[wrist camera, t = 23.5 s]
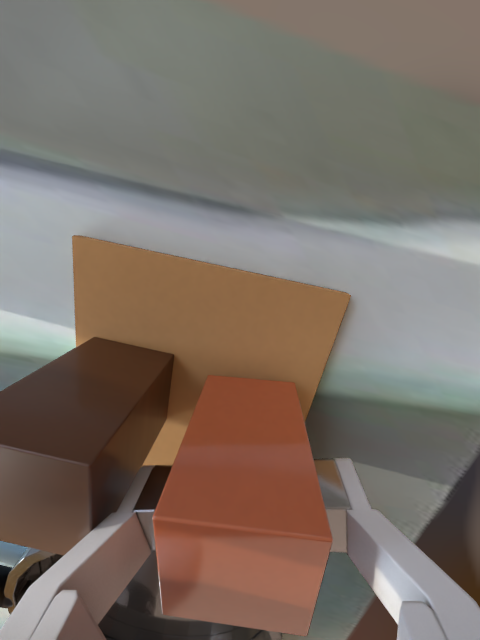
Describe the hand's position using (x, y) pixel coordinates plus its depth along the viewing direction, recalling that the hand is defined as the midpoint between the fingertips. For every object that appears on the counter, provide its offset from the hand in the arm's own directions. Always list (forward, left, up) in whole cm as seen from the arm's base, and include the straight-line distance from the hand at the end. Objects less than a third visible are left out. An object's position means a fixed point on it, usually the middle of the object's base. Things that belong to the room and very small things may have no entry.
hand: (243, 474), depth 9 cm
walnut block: (0, +6, -4) cm, 7 cm away
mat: (0, +3, -4) cm, 5 cm away
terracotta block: (0, 0, -3) cm, 3 cm away
